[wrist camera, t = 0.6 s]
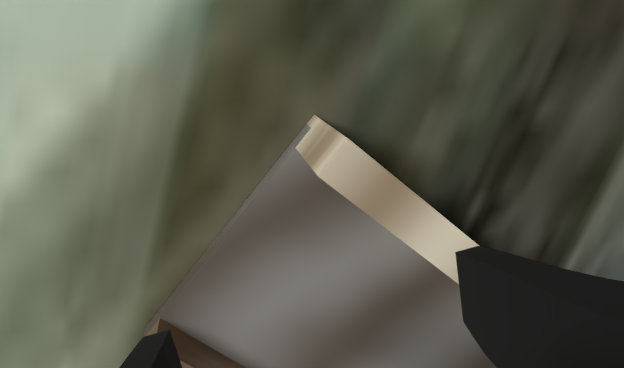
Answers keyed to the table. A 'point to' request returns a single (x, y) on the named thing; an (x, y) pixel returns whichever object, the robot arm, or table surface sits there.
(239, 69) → the table surface
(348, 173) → the cleat board
